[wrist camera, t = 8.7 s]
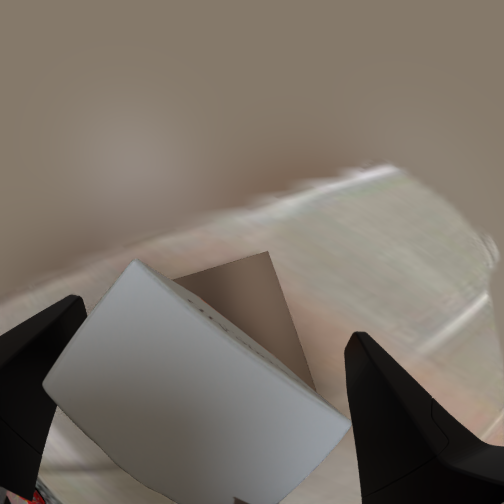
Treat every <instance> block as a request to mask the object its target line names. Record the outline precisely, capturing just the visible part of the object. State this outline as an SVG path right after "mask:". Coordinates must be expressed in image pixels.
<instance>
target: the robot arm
mask: <svg viewBox="0 0 504 504" xmlns="http://www.w3.org/2000/svg"><path fill="white" fill-rule="evenodd" d="M86 318H87V312H86V309H85V305H84V302H83V299H82V297H80V296H77V295H69V296H67V297H65V298H64V299H62V300H60V301H58V302H57V303H55V304H53V305H51V306H50V307H48V308H46V309H44V310H43V311H41V312H39V313H38V314H36V315H34V316H33V317H31V318H29V319H27V320H26V321H24V322H22V323H21V324H19V325H17V326H16V327H14V328H13V329H11V330H9V331H8V332H6V333H4V334H3V335H1V336H0V504H11V502H10V500H9V498H8V496H7V491H10V492H12V493H14V494H16V495H18V496H20V497H22V498H24V499H26V500H28V501H31V502H32V500H33V496H34V491H35V486H36V481H37V476H38V472H39V467H40V463H41V459H42V454H43V451H44V447H45V443H46V440H47V436H48V433H49V429H50V426H51V423H52V420H53V417H54V414H55V411H56V408H57V404H56V403H55V402H54V401H53V400H52V399H51V397H50V396H49V395H48V394H47V393H46V391H45V389H44V388H43V385H42V384H43V381H44V379H45V378H46V376H47V374H48V373H49V371H50V370H51V368H52V367H53V365H54V364H55V362H56V361H57V359H58V358H59V356H60V355H61V353H62V352H63V350H64V349H65V347H66V346H67V344H68V343H69V341H70V340H71V339H72V337H73V336H74V335H75V333H76V332H77V330H78V329H79V328H80V326H81V325H82V324H83V322H84V321H85V319H86ZM344 358H345V371H346V386H347V396H348V402H349V408H350V414H351V420H352V426H353V433H354V439H355V446H356V454H357V461H358V469H359V478H360V487H361V497H362V504H504V446H494V445H489V444H487V443H485V442H483V441H481V440H480V439H479V438H477V437H476V436H475V435H474V434H473V433H471V432H470V431H469V430H468V429H467V428H465V427H464V426H463V425H462V424H461V423H460V422H458V421H457V420H456V419H455V418H454V417H453V416H452V415H450V414H449V413H448V412H447V411H446V410H445V409H444V408H443V407H442V406H441V405H440V404H439V403H438V402H437V401H436V400H435V399H434V398H432V396H431V395H430V394H429V393H428V392H427V391H426V390H425V389H424V388H423V387H422V386H421V385H420V384H419V383H418V382H417V381H416V380H415V379H414V378H413V377H412V376H411V375H410V374H409V373H408V372H407V371H406V370H405V369H404V368H403V367H402V366H400V365H399V364H398V363H397V362H396V361H395V360H394V359H393V358H392V357H391V356H390V355H389V354H388V353H387V352H386V351H385V350H384V349H383V348H382V347H381V346H380V345H379V344H378V343H377V342H376V341H375V340H374V339H373V338H372V337H371V336H370V335H369V334H367V333H366V332H358V331H356V332H354V333H353V334H352V336H351V338H350V340H349V342H348V343H347V345H346V347H345V351H344Z"/></svg>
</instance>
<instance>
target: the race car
mask: <svg viewBox="0 0 504 504" xmlns="http://www.w3.org/2000/svg"><path fill="white" fill-rule="evenodd" d="M7 496H8V498H9V500H10V502H11V504H45V502H44V500H43V499H42V497H41V496H40V494H39V493H38V492H37V491H36V490H35V491H34V496H33V500H32V502H31V501H28V500H26V499H24V498H22V497H20V496H18V495H16V494H14V493H12V492H10V491H7Z"/></svg>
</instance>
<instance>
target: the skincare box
mask: <svg viewBox="0 0 504 504" xmlns="http://www.w3.org/2000/svg"><path fill="white" fill-rule="evenodd" d="M42 385H43V388H44V389H45V391H46V393H47V394H48V395H49V396H50V397H51V399H52V400H53V401H54V402H55V403H56V404H57V405H58V406H59V407H60V409H61V410H62V411H63V412H64V413H65V414H66V415H67V416H68V417H69V418H70V419H71V420H72V421H73V422H74V423H75V424H76V425H77V426H78V427H79V428H80V429H81V430H82V431H83V432H84V433H85V434H86V435H87V436H88V437H89V438H90V439H91V440H93V441H94V442H95V443H96V444H97V445H98V446H99V447H100V448H101V449H102V450H103V451H104V452H105V453H106V454H107V455H108V456H109V457H110V459H111V460H113V461H114V462H115V463H116V464H117V465H118V466H119V467H120V468H122V469H123V470H124V471H126V472H127V473H128V474H130V475H131V476H132V477H133V478H135V479H136V480H137V481H139V482H140V483H142V484H143V485H145V486H147V487H148V488H150V489H152V490H154V491H156V492H159V493H161V494H163V495H164V496H166V497H168V498H170V499H171V500H173V501H175V502H176V503H178V504H278V503H279V502H280V501H281V500H282V499H283V498H285V497H286V496H287V495H288V494H289V493H290V492H291V491H292V490H294V489H295V488H296V487H297V486H298V485H299V484H300V483H301V482H302V481H303V480H304V479H305V478H306V477H307V476H308V475H309V474H310V473H311V472H312V471H313V470H314V469H315V468H316V467H317V466H318V465H319V464H320V463H321V462H322V461H323V460H324V459H325V458H326V457H327V455H328V454H329V453H330V452H331V451H332V450H333V448H334V447H335V446H336V445H337V444H338V442H339V441H340V440H341V439H342V438H343V436H344V435H345V434H346V432H347V431H348V430H349V428H350V427H351V426H352V425H351V421H350V420H349V419H348V418H347V417H346V416H344V415H343V414H342V413H340V412H339V411H338V410H337V409H336V408H335V407H333V406H332V405H331V404H330V403H329V402H327V401H326V400H325V399H324V398H323V397H321V396H320V395H319V394H318V393H316V392H315V391H314V390H313V389H312V388H311V387H309V386H308V385H307V384H306V383H305V382H304V381H302V380H301V379H300V378H299V377H298V376H297V375H296V374H294V373H293V372H292V371H291V370H290V369H289V368H288V367H286V366H285V365H284V364H283V363H282V362H281V361H280V360H279V359H278V358H276V357H275V356H274V355H273V354H272V353H270V352H269V351H267V350H266V349H265V348H264V347H262V346H261V345H260V344H258V343H257V342H256V341H255V340H253V339H252V338H251V337H249V336H248V335H247V334H246V333H244V332H243V331H242V330H240V329H239V328H238V327H237V326H235V325H234V324H233V323H231V322H230V321H229V320H228V319H226V318H225V317H224V316H222V315H221V314H220V313H219V312H217V311H216V310H215V309H214V308H212V307H211V306H210V305H209V304H207V303H206V302H205V301H204V300H203V299H201V298H200V297H198V296H197V295H195V294H194V293H192V292H190V291H188V290H187V289H185V288H184V287H182V286H180V285H178V284H177V283H175V282H174V281H172V280H170V279H169V278H167V277H165V276H164V275H162V274H160V273H159V272H157V271H156V270H154V269H153V268H151V267H149V266H148V265H146V264H145V263H143V262H141V261H140V260H139V259H134V260H132V261H131V262H130V264H129V265H128V266H127V268H126V269H125V270H124V271H123V273H122V274H121V275H120V276H119V277H118V279H117V280H116V281H115V282H114V283H113V285H112V286H111V287H110V288H109V290H108V291H107V292H106V293H105V295H104V296H103V297H102V298H101V300H100V301H99V302H98V304H97V305H96V306H95V307H94V309H93V310H92V311H91V313H90V314H89V315H88V317H87V318H86V319H85V321H84V322H83V324H82V325H81V326H80V328H79V329H78V330H77V332H76V333H75V335H74V336H73V337H72V339H71V340H70V341H69V343H68V344H67V346H66V347H65V349H64V350H63V352H62V353H61V355H60V356H59V358H58V359H57V361H56V362H55V364H54V365H53V367H52V368H51V370H50V371H49V373H48V374H47V376H46V378H45V379H44V381H43V384H42Z"/></svg>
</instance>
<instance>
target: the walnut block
mask: <svg viewBox="0 0 504 504" xmlns="http://www.w3.org/2000/svg"><path fill="white" fill-rule="evenodd" d="M172 281H174V282H175V283H177V284H178V285H180V286H182V287H184V288H185V289H187V290H188V291H190V292H192V293H194V294H195V295H197V296H198V297H200V298H201V299H203V300H204V301H205V302H206V303H207V304H209V305H210V306H211V307H212V308H214V309H215V310H216V311H217V312H219V313H220V314H221V315H222V316H224V317H225V318H226V319H228V320H229V321H230V322H231V323H233V324H234V325H235V326H237V327H238V328H239V329H240V330H242V331H243V332H244V333H246V334H247V335H248V336H249V337H251V338H252V339H253V340H255V341H256V342H257V343H258V344H260V345H261V346H262V347H264V348H265V349H266V350H267V351H269V352H270V353H272V354H273V355H274V356H275V357H276V358H278V359H279V360H280V361H281V362H282V363H283V364H284V365H285V366H286V367H288V368H289V369H290V370H291V371H292V372H293V373H294V374H296V375H297V376H298V377H299V378H300V379H301V380H302V381H304V382H305V383H306V384H307V385H308V386H309V387H311V388H312V389H313V390H314V391H315V392H316V389H315V386H314V383H313V380H312V377H311V374H310V371H309V368H308V365H307V362H306V359H305V356H304V353H303V350H302V347H301V344H300V341H299V338H298V336H297V333H296V330H295V327H294V324H293V321H292V318H291V315H290V312H289V309H288V307H287V304H286V301H285V298H284V295H283V292H282V289H281V287H280V284H279V281H278V278H277V275H276V272H275V270H274V267H273V264H272V261H271V258H270V256H269V253H268V251H267V252H263V253H260V254H257V255H253V256H250V257H247V258H244V259H240V260H237V261H234V262H230V263H227V264H224V265H221V266H217V267H214V268H211V269H207V270H204V271H201V272H198V273H194V274H191V275H188V276H184V277H181V278H178V279H174V280H172ZM316 393H317V392H316Z"/></svg>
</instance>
